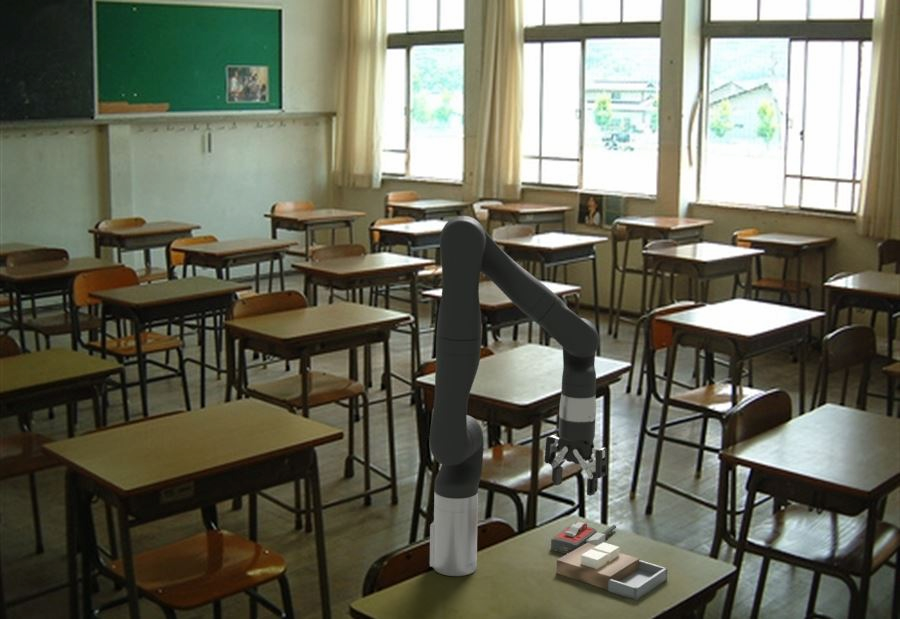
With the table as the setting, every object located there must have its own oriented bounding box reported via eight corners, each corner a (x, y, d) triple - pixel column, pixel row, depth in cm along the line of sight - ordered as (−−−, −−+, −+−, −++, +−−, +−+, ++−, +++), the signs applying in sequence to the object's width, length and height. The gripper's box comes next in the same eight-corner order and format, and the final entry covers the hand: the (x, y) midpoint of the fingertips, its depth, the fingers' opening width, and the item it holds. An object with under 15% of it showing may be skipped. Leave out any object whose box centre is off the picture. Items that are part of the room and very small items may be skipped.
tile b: (593, 556, 242) (593, 547, 242) (603, 550, 245) (603, 542, 245) (609, 561, 240) (609, 552, 239) (619, 555, 243) (619, 547, 242)
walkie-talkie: (582, 561, 248) (619, 532, 265) (582, 542, 247) (619, 514, 264) (546, 552, 252) (584, 524, 269) (546, 534, 252) (585, 507, 268)
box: (608, 591, 232) (608, 579, 232) (639, 571, 242) (640, 560, 242) (636, 600, 229) (636, 588, 228) (666, 579, 238) (667, 568, 238)
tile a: (580, 563, 238) (581, 554, 238) (590, 558, 241) (591, 549, 241) (597, 569, 236) (597, 560, 236) (607, 563, 239) (607, 554, 239)
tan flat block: (556, 573, 241) (556, 559, 240) (586, 555, 250) (586, 542, 249) (609, 590, 233) (610, 576, 232) (638, 571, 242) (639, 558, 242)
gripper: (539, 411, 237) (536, 485, 240) (595, 426, 228) (592, 502, 231) (560, 404, 242) (557, 477, 246) (616, 418, 233) (612, 493, 236)
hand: (574, 489), depth 238 cm, fingers open, 8 cm apart
